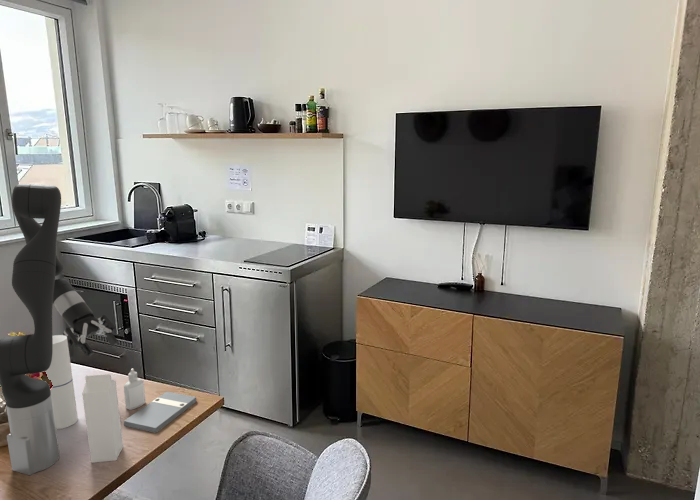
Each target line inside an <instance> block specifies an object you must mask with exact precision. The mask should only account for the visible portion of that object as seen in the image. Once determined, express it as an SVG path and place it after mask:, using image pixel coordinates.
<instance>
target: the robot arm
mask: <svg viewBox="0 0 700 500" xmlns="http://www.w3.org/2000/svg"><path fill="white" fill-rule="evenodd" d="M12 189H13V190H12V193H11V206H12V207H11V208H12V210H13V214H14V217H15V220H16V222H17V224H18V226H19V228H20V231H21V232H22V235H23V238H24V240H25V244H24V246H23V247H22V248H21V249H20V251H19V252H18V253H17V254H16V256H15V257H14V260H13V263H12V266H13V267H12V275H11V286H12V289H13V291H14V292H15V294H16V296H17V297H18V298H19V299H20V301H21V302H22V304H24V306H25V307H26V309H27V310H28V312H29V313H30V316H31V318H32V321H33V326H34V327H33V328H34V332H33V333H30V334H21V335H12V336H11V335H10V336H5V337H2V338H0V387H1V393H2V396H3V399H4V401H5V407H6V413H7V419H8V426H9V432H10V433H8V434H7V435H6V440H7V446H8V453H9V458H10V465H11V471H14V472H17V473H21V474H24V475H28V476H31V475H34V474H35V473H38V472H41V471H44V470H46V469H48V468H50V467H52V466H53V465H55V464H56V463H57V462H58V461H59V459H60V455H61V454H60V449H59V441H58V435H57V434H58V433H57V429H56V427H55V420H54V413H53V406H52V398H51V391H50V386H49V384H48V383H47V382H46V381H43V380H42V379H38V378H34V377H30V376H28V375H29V374H37V373H41V372H44V371H46V370H48V369H49V367H50V365H51V361H52V352H53V338H52V336H53V305H54V307H55V309H56V310H57V312H58V313H59V315H60V316H61V317H62V319H63V320H64V321H65V323H66V325H67V326H68V327H66V328H65V329H64V331H63V332H62V335H65V336H67V341H68V345H69V347H71V348H72V349H75V348H79V349H80V350H81V351H82V352H83V354H84V355H85V356H87V357H92V355H93V353H94V351H93V349H92V348H91V346H90V345H89V344H88V343H87V342H86V338H88V337H90V336H95V335H98V336H104V337H105V338H106V340H107V341H108V342H109V344H110V345H111V347H114V346H116V345H117V343H118V340H117V338H116V337H115V335H114V334H113V332H114V331H115V329H116V326H115V325H114V324H113V323H112V322H111V320H110V319H109V318H108V317H107V315H106V314H103V315H101V316H100V317H98V318H97V317H95V315H94V312H93V310H92V309H91V308H90V307H89V305H87V303H86V301H85V300H84V299H83V297H82V296H81V295H80V294H79V293H78V292H77V291H76V289H75V288H74V286H73V285H72V284H71V283H70V282H69V281H68V279H66V278H58V279H56V277H57V276H59V275H60V274H62V272H63V269H64V265H63V263H62V261H61V260H60V259H59V256H58V255H57V241H58V240H57V237H58V231H59V229H58V228H59V222H60V214H61V206H62V194H61V190H60V189H59V188H58V187H57V186H56V185H50V184H35V183H19V184H15V186H14V187H13V188H12ZM36 219H39V220H41V219H43V222H42V224H40V223H39V222H37V220H36ZM75 334H76V335H77V337H76V335H75Z"/></svg>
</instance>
